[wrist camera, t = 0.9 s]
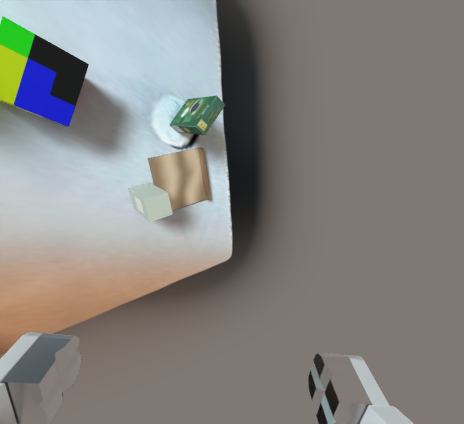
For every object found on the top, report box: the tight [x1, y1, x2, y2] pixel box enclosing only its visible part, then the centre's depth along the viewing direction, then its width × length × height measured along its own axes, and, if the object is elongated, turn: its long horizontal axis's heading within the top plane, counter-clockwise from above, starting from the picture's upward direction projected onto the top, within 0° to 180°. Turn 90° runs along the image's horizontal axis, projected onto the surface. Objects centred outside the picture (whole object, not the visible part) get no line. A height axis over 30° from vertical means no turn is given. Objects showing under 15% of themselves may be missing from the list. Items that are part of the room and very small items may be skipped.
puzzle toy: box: [0, 17, 89, 126], centre depth 39 cm, size 10×10×10 cm
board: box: [148, 147, 211, 210], centre depth 63 cm, size 14×14×2 cm
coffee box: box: [170, 96, 225, 135], centre depth 54 cm, size 8×3×13 cm, turn 139°
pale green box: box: [128, 183, 173, 222], centre depth 55 cm, size 5×5×11 cm
